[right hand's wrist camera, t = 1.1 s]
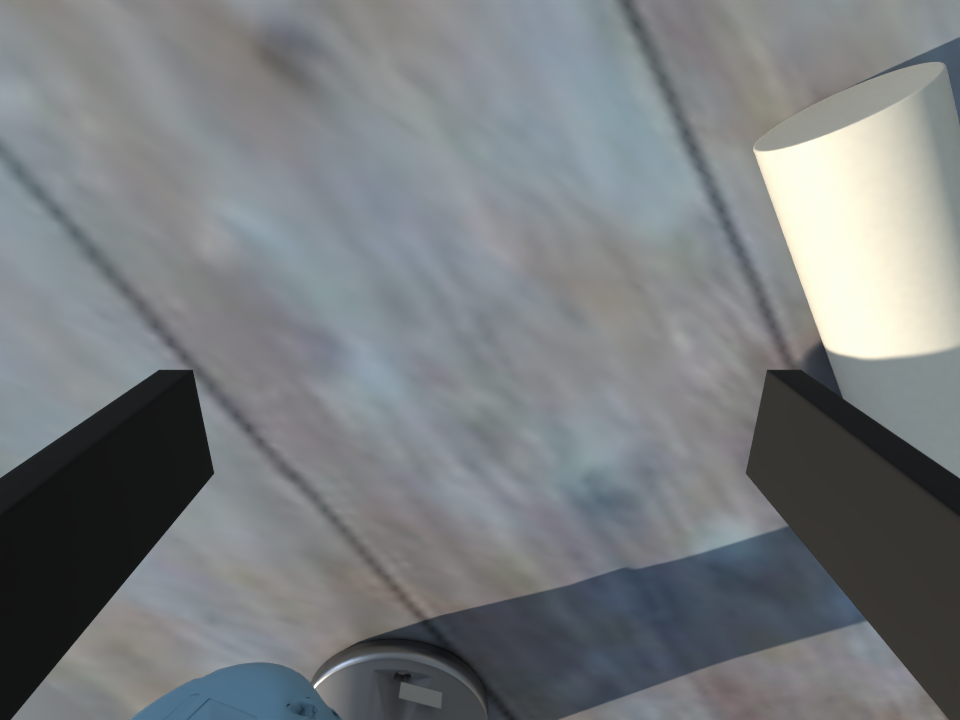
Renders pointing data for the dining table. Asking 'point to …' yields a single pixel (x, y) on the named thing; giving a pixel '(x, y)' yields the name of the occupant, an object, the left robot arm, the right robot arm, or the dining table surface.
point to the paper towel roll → (880, 245)
